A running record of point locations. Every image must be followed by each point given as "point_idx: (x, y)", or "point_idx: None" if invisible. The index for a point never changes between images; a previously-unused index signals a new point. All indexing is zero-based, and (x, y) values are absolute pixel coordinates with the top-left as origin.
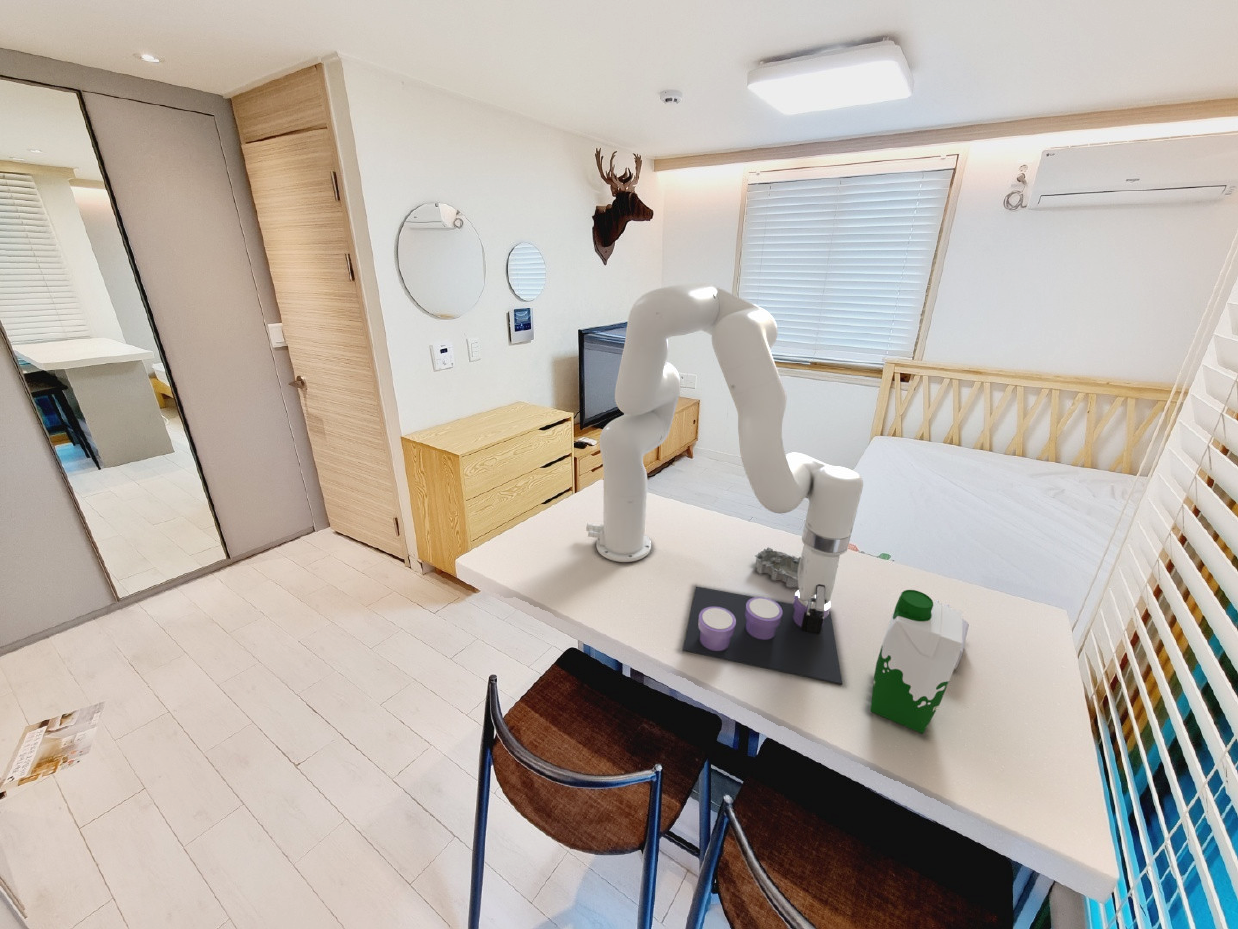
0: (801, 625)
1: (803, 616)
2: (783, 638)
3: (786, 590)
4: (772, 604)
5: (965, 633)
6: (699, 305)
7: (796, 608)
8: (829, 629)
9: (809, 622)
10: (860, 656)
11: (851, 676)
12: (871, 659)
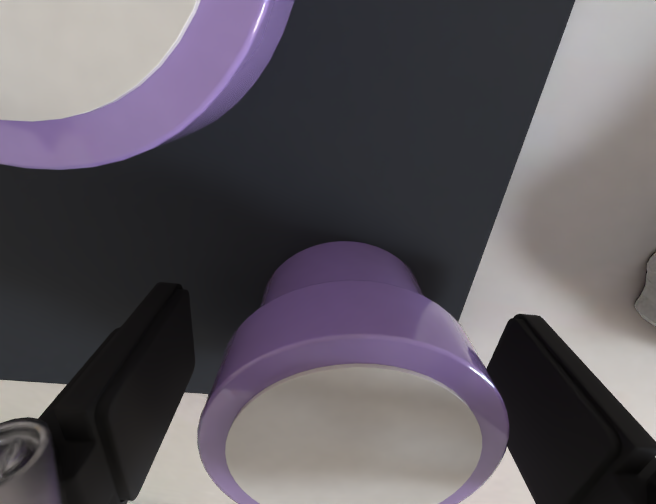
0: (168, 296)
1: (119, 360)
2: None
3: (625, 237)
4: (115, 16)
5: None
6: None
7: (282, 307)
8: None
9: (70, 387)
10: (171, 445)
11: (37, 405)
12: (171, 468)
